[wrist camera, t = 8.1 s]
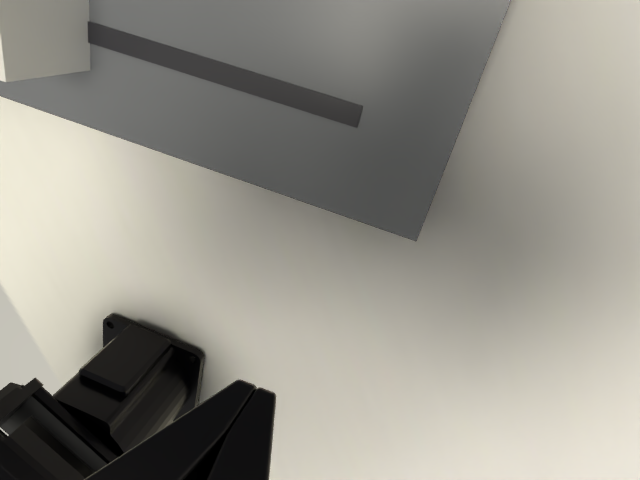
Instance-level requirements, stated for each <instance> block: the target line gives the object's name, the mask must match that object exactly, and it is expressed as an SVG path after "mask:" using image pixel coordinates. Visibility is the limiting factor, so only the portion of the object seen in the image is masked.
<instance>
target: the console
mask: <svg viewBox="0 0 640 480" xmlns="http://www.w3.org/2000/svg"><path fill="white" fill-rule="evenodd" d="M510 2H511V0H0V96H1V97H4V98H7V99H10V100H13V101H16V102H18V103H21V104H24V105H27V106H30V107H33V108H36V109H39V110H41V111H44V112H47V113H50V114H53V115H56V116H59V117H61V118H64V119H67V120H70V121H73V122H76V123H79V124H82V125H84V126H87V127H90V128H93V129H96V130H99V131H102V132H104V133H107V134H110V135H113V136H116V137H119V138H122V139H124V140H127V141H130V142H133V143H136V144H139V145H142V146H145V147H147V148H150V149H153V150H156V151H159V152H162V153H165V154H167V155H170V156H173V157H176V158H179V159H182V160H185V161H188V162H190V163H193V164H196V165H199V166H202V167H205V168H208V169H210V170H213V171H216V172H219V173H222V174H225V175H228V176H230V177H233V178H236V179H239V180H242V181H245V182H248V183H251V184H253V185H256V186H259V187H262V188H265V189H268V190H271V191H273V192H276V193H279V194H282V195H285V196H288V197H291V198H293V199H296V200H299V201H302V202H305V203H308V204H311V205H314V206H316V207H319V208H322V209H325V210H328V211H331V212H334V213H336V214H339V215H342V216H345V217H348V218H351V219H354V220H357V221H359V222H362V223H365V224H368V225H371V226H374V227H377V228H379V229H382V230H385V231H388V232H391V233H394V234H397V235H399V236H402V237H405V238H408V239H411V240H414V241H417V238H418V236H419V233H420V231H421V228H422V226H423V223H424V220H425V218H426V215H427V213H428V210H429V208H430V205H431V203H432V200H433V198H434V195H435V192H436V190H437V187H438V185H439V182H440V180H441V177H442V175H443V172H444V170H445V167H446V164H447V162H448V159H449V157H450V154H451V152H452V149H453V147H454V144H455V142H456V139H457V136H458V134H459V131H460V129H461V126H462V124H463V121H464V119H465V116H466V114H467V111H468V108H469V106H470V103H471V101H472V98H473V96H474V93H475V91H476V88H477V86H478V83H479V81H480V78H481V75H482V73H483V70H484V68H485V65H486V63H487V60H488V58H489V55H490V53H491V50H492V47H493V45H494V42H495V40H496V37H497V35H498V32H499V30H500V27H501V25H502V22H503V19H504V17H505V14H506V12H507V9H508V7H509V4H510Z"/></svg>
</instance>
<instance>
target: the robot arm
mask: <svg viewBox="0 0 640 480" xmlns="http://www.w3.org/2000/svg"><path fill="white" fill-rule="evenodd" d="M203 363H204V355H203V353H202V352H201V351H200V350H198V349H196V348H194V347H191V346H189V345H186V344H184V343H182V342H179V341H177V340H174V339H172V338H170V337H167V336H165V335H162V334H160V333H158V332H155V331H153V330H150V329H148V328H146V327H143V326H141V325H138V324H136V323H133V322H131V321H129V320H126V319H124V318H121V317H119V316H117V315H114V314H110V315H109V316H107V317H106V318H105V319H104V320H103V349H101V350H100V351H99V352H98V353H97V354H96V355H95V356H94V357H93V358H91V359H90V360H89V361H88V362H87V363H86V364H85V365H84V366H83V367H81V368H80V370H79V372H78V373H77V374H76V375H75V376H74V377H73V378H72V379H70V380H69V381H68V382H67V383H66V384H65V385H64V386H63V387H62V388H61V389H59V390H58V391H57V392H56V393H55V394H54V395H53V396H52V395H51V394H50V393H49V392H48V391H46V390H45V389H44V388H43V387H42V386H43V384H42V383H41V382H40V381H39V380H37V379H36V378H34V379H33V380H32V381H30V382H29V383H28V384H26V385H25V386H24V385H18V384H15V383H9V384H8V385H7V386H6V387H4V388H3V389H2V390H0V427H1V428H2V429H3V430H4V431H5V432H6V433H8V434H9V436H7V435H6V434H5V433H3V432H2V431H1V430H0V480H269V473H270V462H271V450H272V439H273V427H274V416H275V404H276V394H275V393H274V392H271V391H268V390H266V389H263V388H260V387H259V388H257V387H256V386H255V385H253V384H251V383H248V382H246V381H243V380H237V381H235V382H233V383H232V384H230V385H229V386H227V387H226V388H224V389H223V390H221V391H219V392H218V393H216V394H215V395H213V396H212V397H210V398H209V399H207V400H206V401H204V402H203V403H201V404H199V405H198V398H199V391H200V384H201V377H202V370H203ZM197 405H198V406H197ZM172 421H173V422H172Z"/></svg>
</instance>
